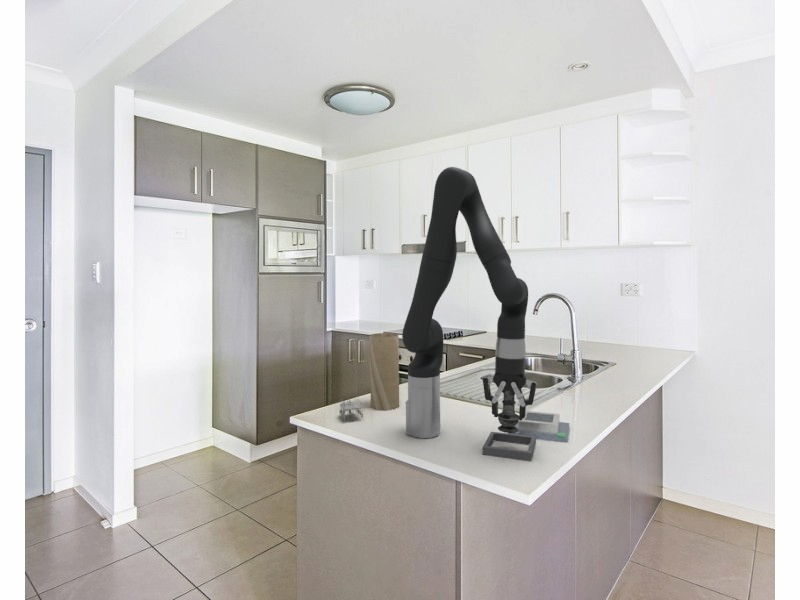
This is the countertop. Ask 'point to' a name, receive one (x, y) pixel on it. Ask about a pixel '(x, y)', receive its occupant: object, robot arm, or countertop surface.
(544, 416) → the port panel
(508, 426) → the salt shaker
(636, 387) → the countertop surface
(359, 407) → the building frame
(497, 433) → the dark grey square frame
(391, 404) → the tube
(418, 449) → the countertop surface
